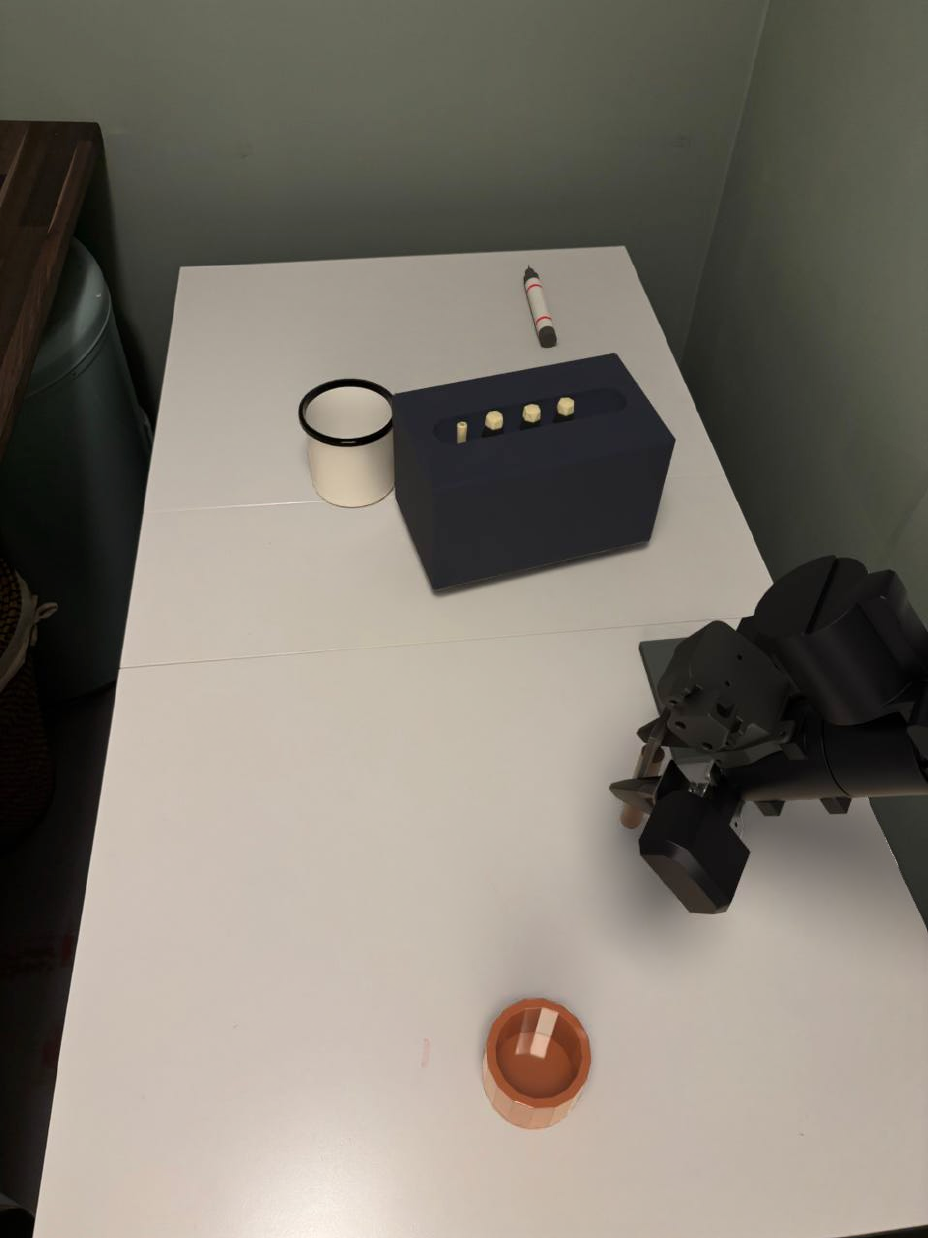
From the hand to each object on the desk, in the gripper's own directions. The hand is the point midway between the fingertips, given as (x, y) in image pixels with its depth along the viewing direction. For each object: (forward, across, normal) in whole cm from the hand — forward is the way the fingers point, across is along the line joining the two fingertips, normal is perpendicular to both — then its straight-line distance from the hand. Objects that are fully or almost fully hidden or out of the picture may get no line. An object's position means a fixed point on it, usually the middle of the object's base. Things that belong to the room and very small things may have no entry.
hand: (627, 762), depth 64 cm
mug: (+36, -26, -16) cm, 48 cm away
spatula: (+4, 0, +6) cm, 7 cm away
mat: (+8, -17, +11) cm, 22 cm away
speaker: (+24, -28, -5) cm, 37 cm away
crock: (+8, +17, +11) cm, 22 cm away
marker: (+34, -62, -15) cm, 72 cm away
